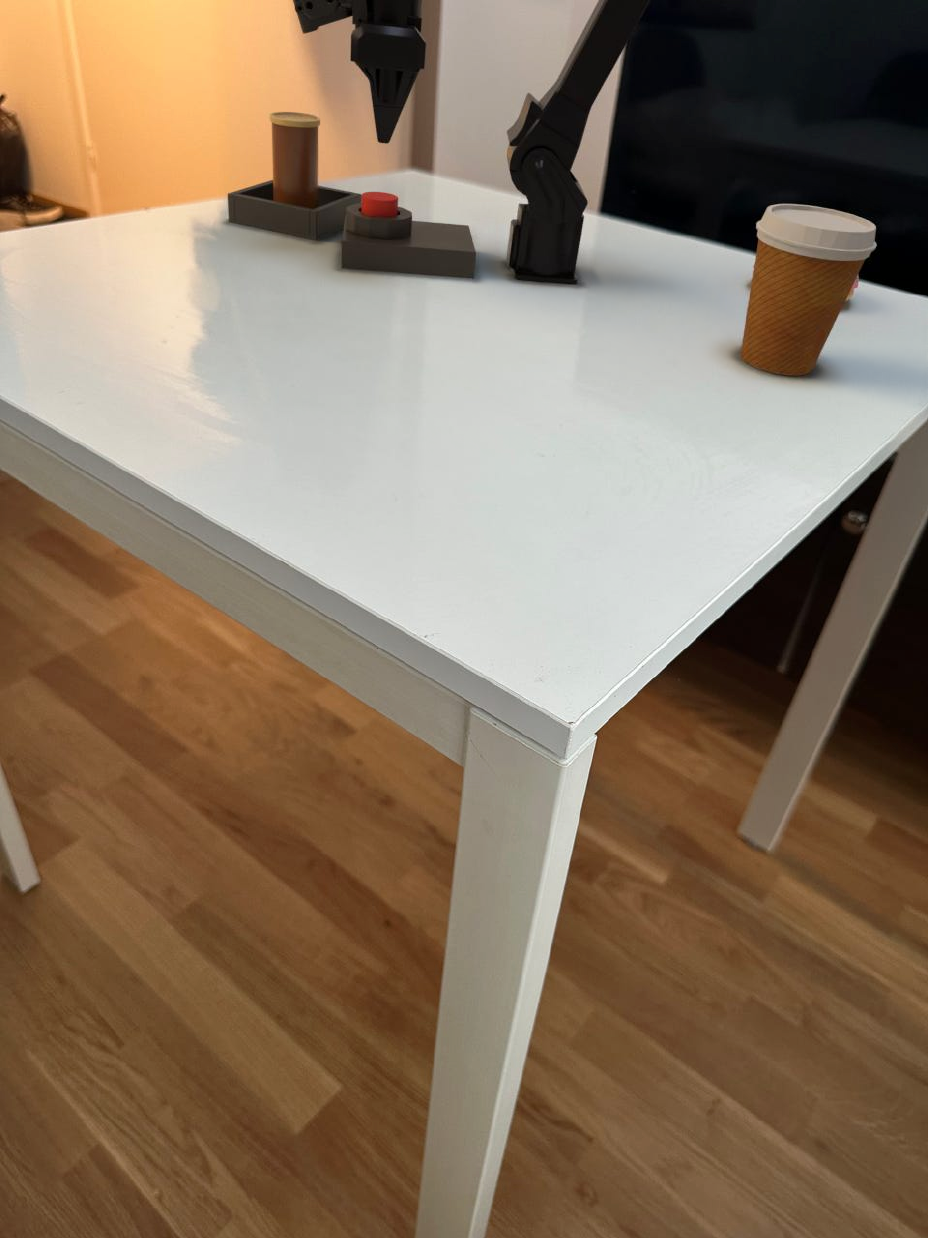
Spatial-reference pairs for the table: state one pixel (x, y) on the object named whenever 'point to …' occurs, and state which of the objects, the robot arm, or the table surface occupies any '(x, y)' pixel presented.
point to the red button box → (406, 245)
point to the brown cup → (295, 158)
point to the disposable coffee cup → (801, 283)
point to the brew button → (379, 204)
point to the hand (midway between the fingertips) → (383, 142)
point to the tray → (290, 211)
